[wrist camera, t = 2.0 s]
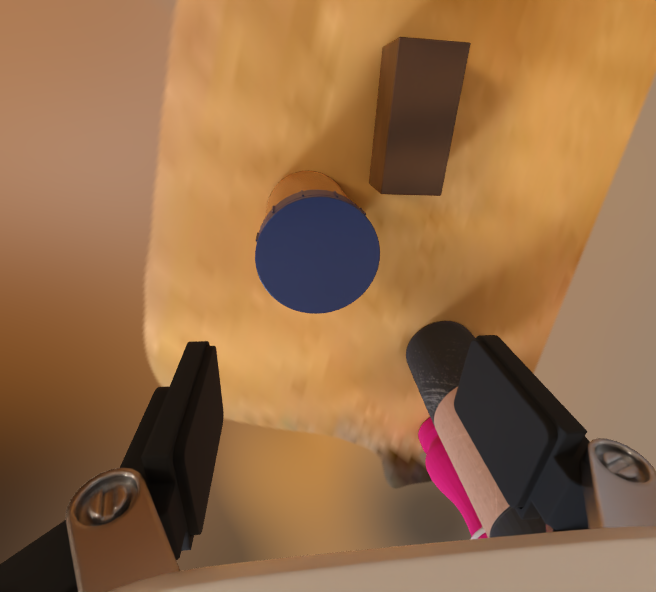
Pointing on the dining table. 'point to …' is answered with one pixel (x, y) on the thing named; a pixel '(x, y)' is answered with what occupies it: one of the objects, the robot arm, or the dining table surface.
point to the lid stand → (416, 114)
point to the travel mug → (460, 424)
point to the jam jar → (301, 186)
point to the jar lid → (316, 251)
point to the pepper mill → (448, 477)
